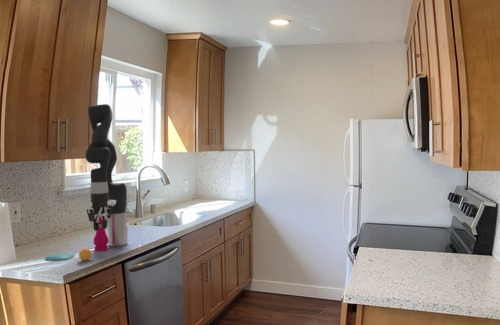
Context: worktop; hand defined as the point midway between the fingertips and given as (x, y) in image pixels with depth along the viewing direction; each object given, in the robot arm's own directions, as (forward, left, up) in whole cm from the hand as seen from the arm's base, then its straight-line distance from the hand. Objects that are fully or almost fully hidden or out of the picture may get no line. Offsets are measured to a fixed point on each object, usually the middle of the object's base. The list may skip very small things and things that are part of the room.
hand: (100, 229), depth 186 cm
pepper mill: (-18, -17, -15) cm, 29 cm away
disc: (0, -26, -15) cm, 30 cm away
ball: (0, -10, -13) cm, 16 cm away
